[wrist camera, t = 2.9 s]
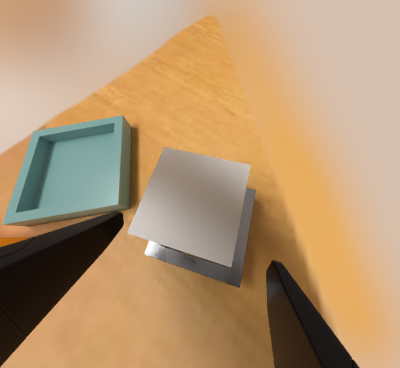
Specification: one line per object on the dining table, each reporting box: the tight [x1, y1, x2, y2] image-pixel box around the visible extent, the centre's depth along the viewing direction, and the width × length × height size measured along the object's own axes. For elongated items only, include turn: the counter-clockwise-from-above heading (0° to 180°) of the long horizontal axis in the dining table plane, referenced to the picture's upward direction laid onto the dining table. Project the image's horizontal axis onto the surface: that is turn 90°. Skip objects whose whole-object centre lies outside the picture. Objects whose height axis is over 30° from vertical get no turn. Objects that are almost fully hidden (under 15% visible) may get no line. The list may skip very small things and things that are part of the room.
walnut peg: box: [127, 147, 250, 267], centre depth 12 cm, size 5×5×12 cm
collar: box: [145, 188, 256, 288], centre depth 16 cm, size 9×9×3 cm
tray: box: [2, 115, 131, 226], centre depth 21 cm, size 14×14×2 cm
